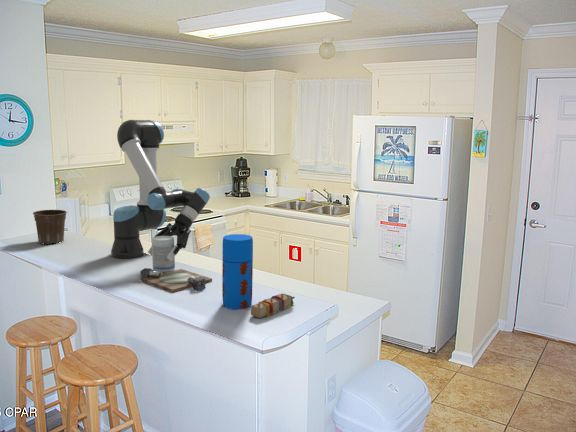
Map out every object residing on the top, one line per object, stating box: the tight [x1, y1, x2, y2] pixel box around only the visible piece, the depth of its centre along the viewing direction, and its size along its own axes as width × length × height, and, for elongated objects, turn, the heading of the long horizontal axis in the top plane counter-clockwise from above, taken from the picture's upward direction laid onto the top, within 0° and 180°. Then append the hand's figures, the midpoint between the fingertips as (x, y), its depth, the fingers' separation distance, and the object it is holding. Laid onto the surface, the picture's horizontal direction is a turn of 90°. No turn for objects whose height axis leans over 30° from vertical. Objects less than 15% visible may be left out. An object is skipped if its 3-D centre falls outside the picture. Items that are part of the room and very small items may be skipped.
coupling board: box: [141, 268, 213, 293], centre depth 214 cm, size 20×20×2 cm
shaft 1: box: [140, 267, 161, 281], centre depth 215 cm, size 7×4×4 cm, turn 80°
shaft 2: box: [188, 277, 206, 291], centre depth 206 cm, size 7×4×4 cm, turn 50°
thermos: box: [221, 233, 254, 310], centre depth 187 cm, size 11×11×25 cm
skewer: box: [250, 293, 296, 319], centre depth 184 cm, size 21×6×5 cm, turn 140°
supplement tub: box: [151, 236, 176, 274], centre depth 228 cm, size 10×10×15 cm
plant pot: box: [32, 209, 68, 245], centre depth 273 cm, size 16×16×16 cm
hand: (159, 256), depth 226 cm, fingers open, 13 cm apart
